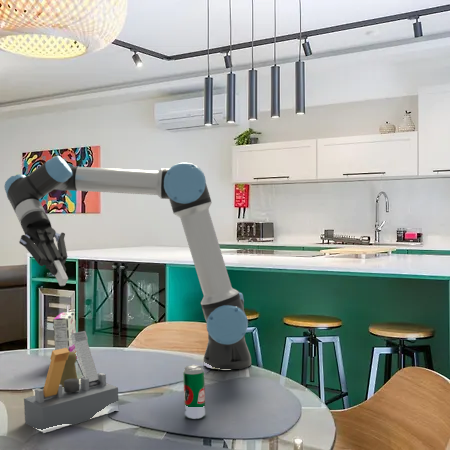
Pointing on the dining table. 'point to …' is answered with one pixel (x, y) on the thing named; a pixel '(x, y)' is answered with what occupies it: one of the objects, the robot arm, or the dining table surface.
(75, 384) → the button
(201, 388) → the soda can
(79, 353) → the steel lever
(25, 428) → the dining table surface
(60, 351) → the orange lever
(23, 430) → the dining table surface
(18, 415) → the dining table surface
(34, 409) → the console
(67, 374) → the cork
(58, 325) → the candy bar box
